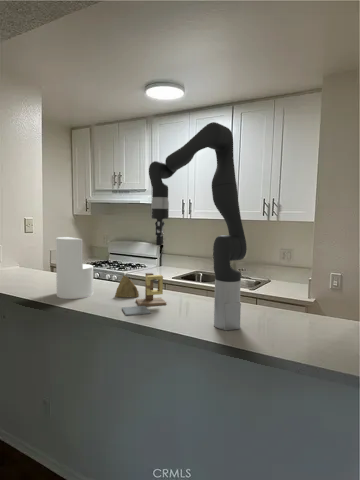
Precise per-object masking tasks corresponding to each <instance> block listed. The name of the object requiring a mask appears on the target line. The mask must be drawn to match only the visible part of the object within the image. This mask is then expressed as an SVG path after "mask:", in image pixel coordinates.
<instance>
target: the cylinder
mask: <svg viewBox="0 0 360 480" xmlns="http://www.w3.org/2000/svg"><path fill="white" fill-rule="evenodd" d="M83 251H84V250H83V238H77V237H71V236H58V237H55V264H56V265H55V266H56V267H55V268H56V269H55V270H56V273H55V275H56V297H57V298H60V299H64V300H65V299H66V300H74V299H75V300H76V299H84V298H88V297H91V296H93V295H94V266H93V265H92V264H89V263H88V264H86V263H84V261H83V259H84V258H83V253H84V252H83Z"/></svg>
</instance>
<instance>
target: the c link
mask: <svg viewBox="0 0 360 480" xmlns="http://www.w3.org/2000/svg"><path fill="white" fill-rule="evenodd" d="M145 277H146V281H145V283H144V285H145V284H146V285H147V286H150V280H158V284H157V289H153V290H150V288H145V287H144V288H145V289H144V293H145V294H146V295H153V296H156V295H163V293H164V292H163V291H164V290H163V289H164V285H163V283H164V275H163V274H153V275H148V276H146V275H145Z"/></svg>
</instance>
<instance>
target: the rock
mask: <svg viewBox="0 0 360 480" xmlns="http://www.w3.org/2000/svg"><path fill="white" fill-rule="evenodd" d="M114 297H115V298H118V297H119V298H138V297H140V293H139V290H138V287H137V286H136V285H135V283H134V282H133V281H132V280H131V279H130V278H129V277H128V276H127V275H123V276H122V278H121V280H120V282H119V284H118V286H117V288H116V291H115V295H114Z"/></svg>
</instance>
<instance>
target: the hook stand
mask: <svg viewBox="0 0 360 480" xmlns="http://www.w3.org/2000/svg"><path fill="white" fill-rule="evenodd" d="M148 275H154V273H153V272H146V273H145V281H146V276H148ZM154 284H155V285H158V280H150V286H147V285H146V284H145V283H144V285H145V287H144V288H150V290H154ZM144 296H145V298H135V302H136V303H137V306H146V307H153V306H163V305H167V301H166V300H165V299H163V298H162V297H154V295H146V294H145V295H144Z"/></svg>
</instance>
